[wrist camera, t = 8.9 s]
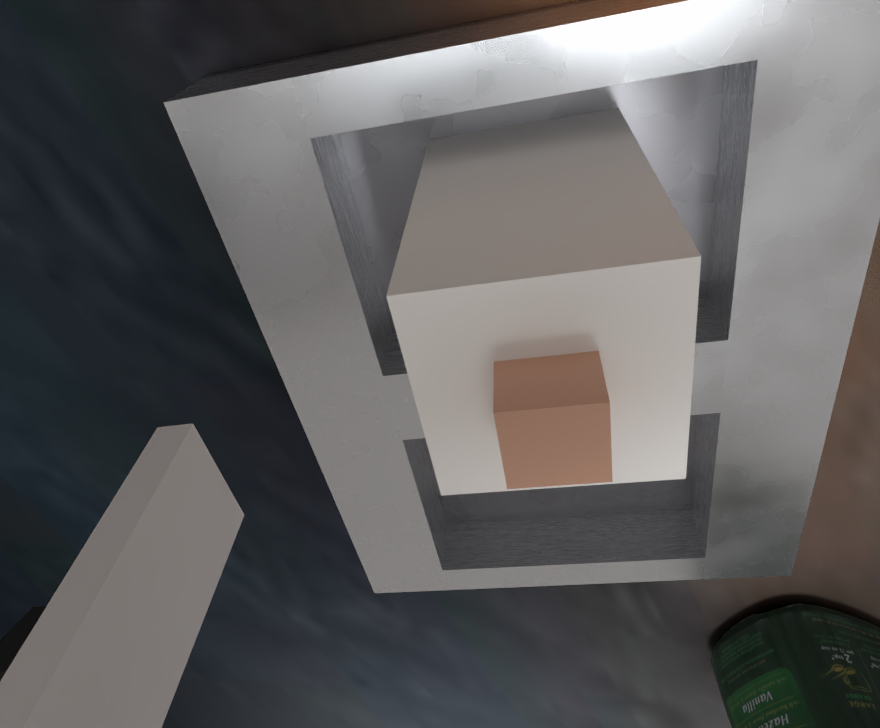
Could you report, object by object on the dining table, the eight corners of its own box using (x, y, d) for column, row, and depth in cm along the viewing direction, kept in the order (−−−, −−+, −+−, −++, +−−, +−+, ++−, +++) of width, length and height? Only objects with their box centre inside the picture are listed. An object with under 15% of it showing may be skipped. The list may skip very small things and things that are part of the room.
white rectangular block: (459, 296, 22) (436, 548, 13) (428, 140, 19) (373, 343, 10) (621, 277, 21) (703, 535, 12) (618, 107, 18) (726, 303, 9)
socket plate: (383, 539, 31) (374, 593, 29) (206, 75, 18) (163, 102, 16) (766, 517, 28) (791, 575, 26) (875, -59, 15) (945, -50, 13)
